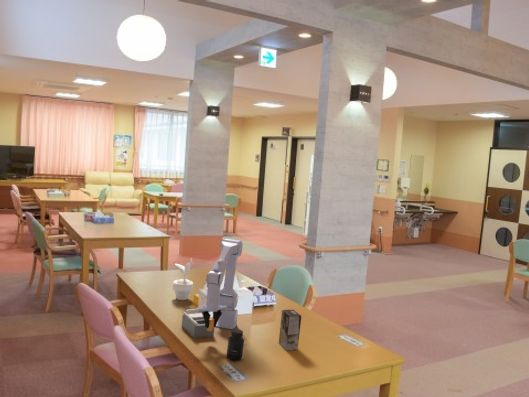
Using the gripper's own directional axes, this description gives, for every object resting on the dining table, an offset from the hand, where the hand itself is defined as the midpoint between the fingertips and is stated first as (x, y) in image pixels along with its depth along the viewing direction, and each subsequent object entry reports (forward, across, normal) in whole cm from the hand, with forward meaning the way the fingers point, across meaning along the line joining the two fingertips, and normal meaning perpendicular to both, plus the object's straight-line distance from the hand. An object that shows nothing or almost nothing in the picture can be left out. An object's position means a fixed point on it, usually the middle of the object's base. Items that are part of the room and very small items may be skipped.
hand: (210, 326), depth 223 cm
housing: (+7, 0, +14) cm, 16 cm away
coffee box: (+7, +34, -14) cm, 37 cm away
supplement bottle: (+7, +4, -19) cm, 21 cm away
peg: (+2, 0, 0) cm, 2 cm away
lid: (+1, 0, +18) cm, 18 cm away
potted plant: (+8, +10, +63) cm, 64 cm away
